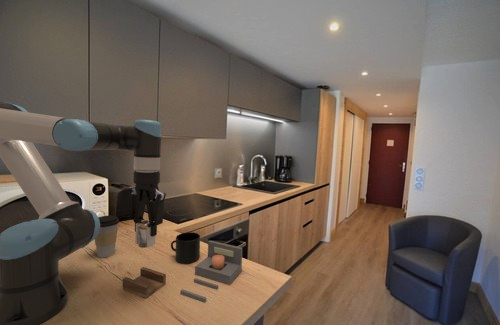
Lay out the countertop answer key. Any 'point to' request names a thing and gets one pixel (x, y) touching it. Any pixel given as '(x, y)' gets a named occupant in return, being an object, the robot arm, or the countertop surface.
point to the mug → (187, 247)
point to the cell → (143, 234)
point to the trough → (144, 282)
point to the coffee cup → (106, 236)
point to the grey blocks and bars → (225, 275)
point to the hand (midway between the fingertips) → (145, 243)
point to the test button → (218, 262)
